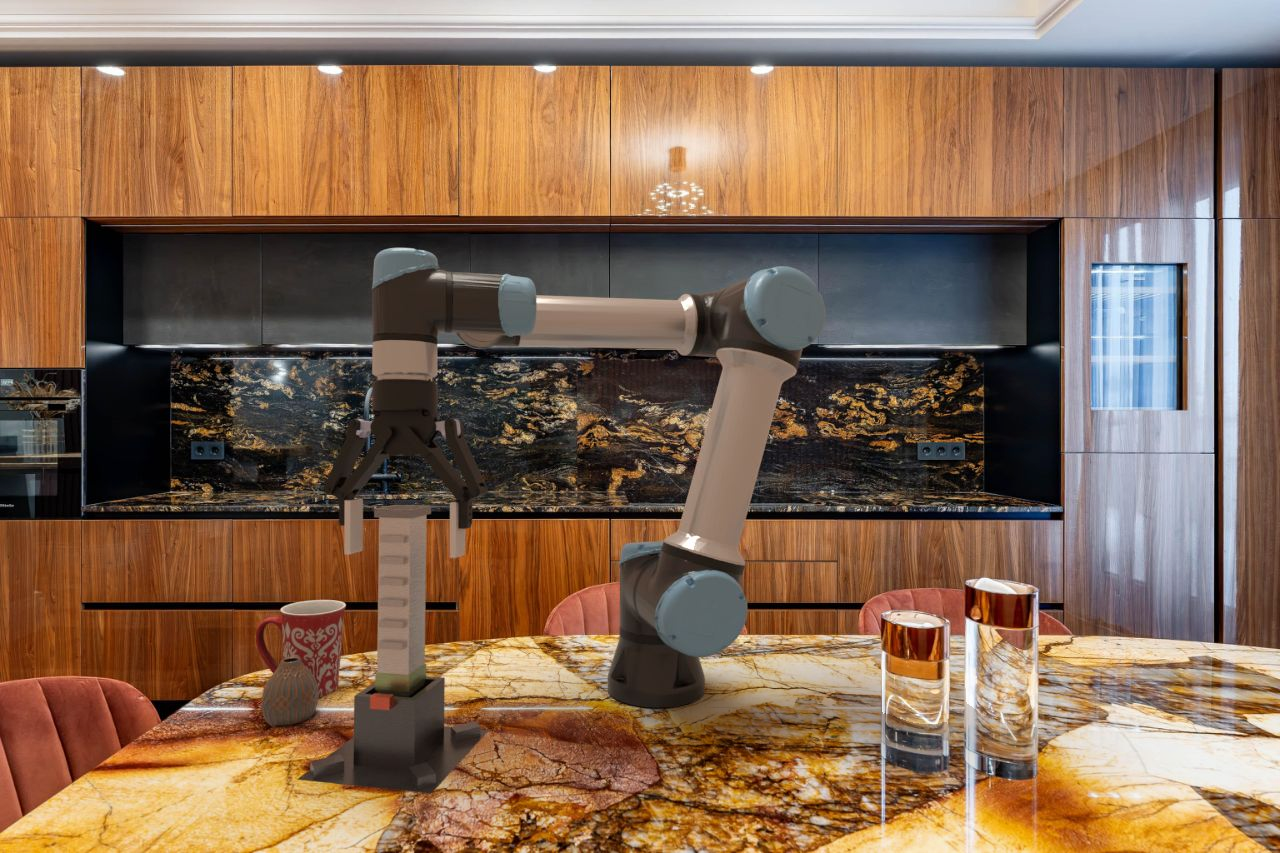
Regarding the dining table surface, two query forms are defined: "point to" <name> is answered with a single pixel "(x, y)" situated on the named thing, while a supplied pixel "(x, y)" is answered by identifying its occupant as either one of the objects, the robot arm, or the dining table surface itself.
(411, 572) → the column
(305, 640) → the mug
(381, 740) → the stand base
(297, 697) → the vase
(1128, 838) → the dining table surface
